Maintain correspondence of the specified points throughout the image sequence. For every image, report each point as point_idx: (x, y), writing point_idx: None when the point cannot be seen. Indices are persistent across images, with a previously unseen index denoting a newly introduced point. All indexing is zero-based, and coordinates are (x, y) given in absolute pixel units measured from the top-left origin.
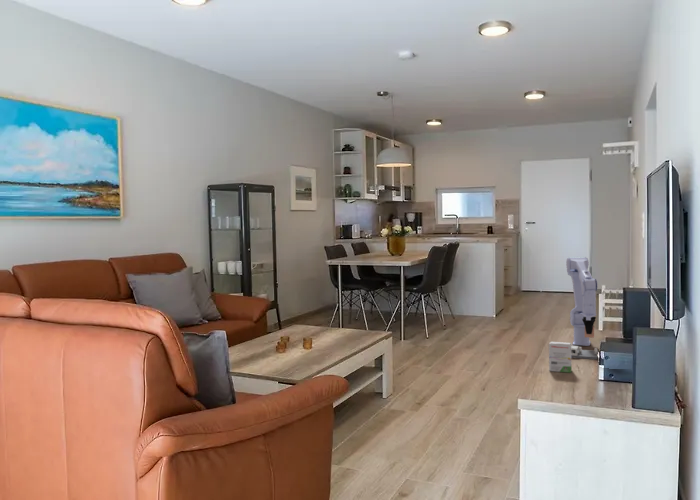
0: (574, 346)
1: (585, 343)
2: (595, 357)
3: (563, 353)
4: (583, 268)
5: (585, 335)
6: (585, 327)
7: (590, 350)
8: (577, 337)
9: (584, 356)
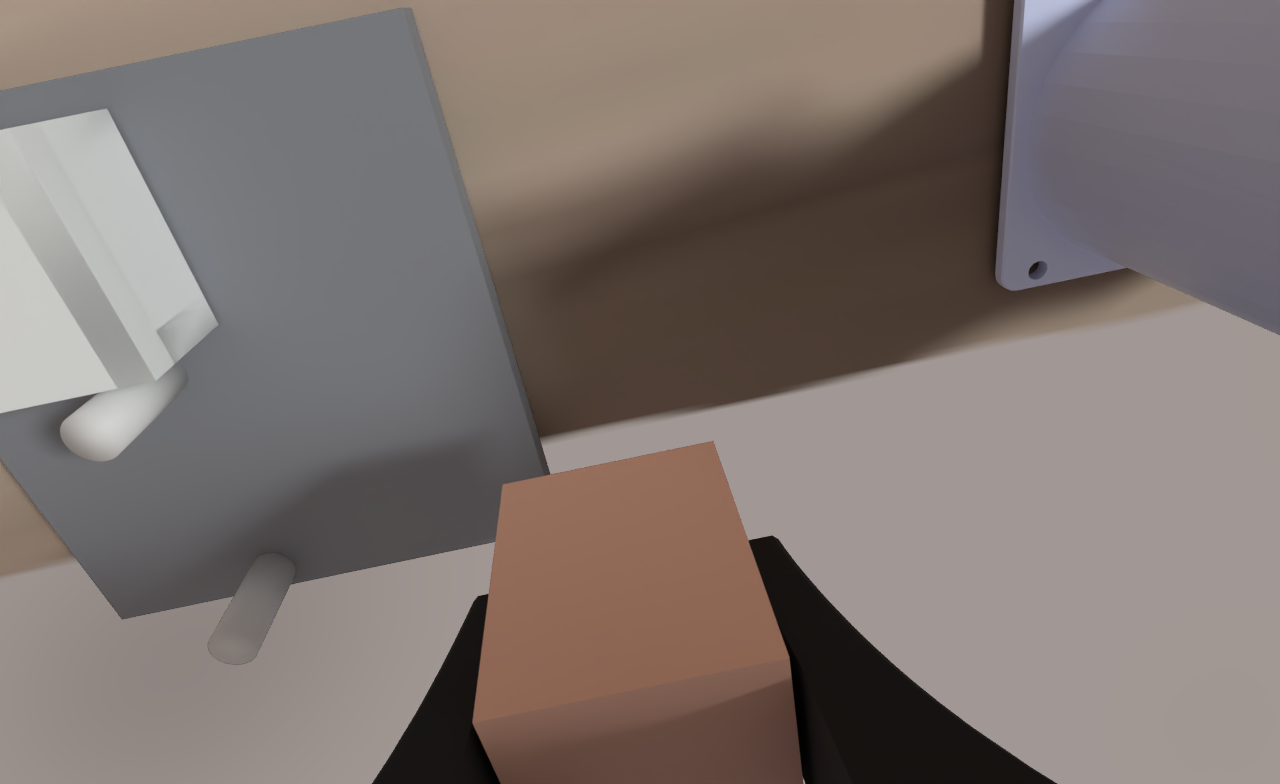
0: (24, 333)
1: (1055, 222)
2: (112, 600)
3: None
4: None
5: (507, 528)
6: (391, 756)
7: (513, 439)
8: (1151, 80)
9: (20, 479)
